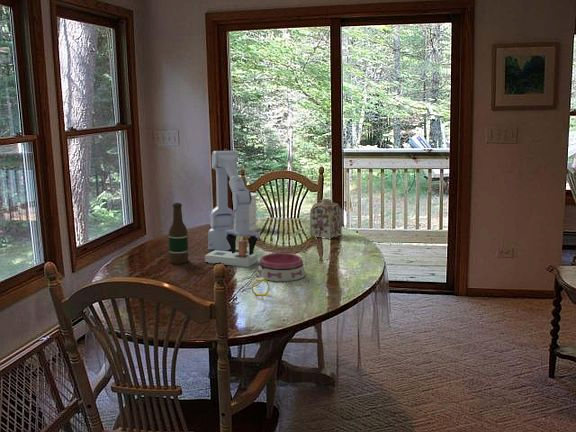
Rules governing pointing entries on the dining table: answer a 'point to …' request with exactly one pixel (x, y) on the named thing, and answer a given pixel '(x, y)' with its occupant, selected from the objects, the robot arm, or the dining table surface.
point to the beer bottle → (178, 237)
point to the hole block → (230, 258)
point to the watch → (260, 281)
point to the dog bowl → (281, 268)
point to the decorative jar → (325, 219)
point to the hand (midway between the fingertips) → (242, 253)
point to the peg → (242, 249)
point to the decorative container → (252, 213)
